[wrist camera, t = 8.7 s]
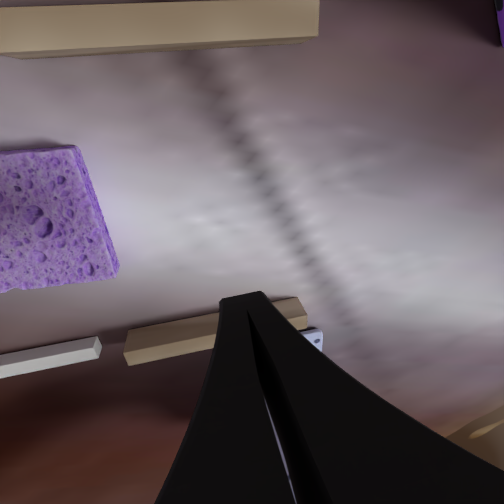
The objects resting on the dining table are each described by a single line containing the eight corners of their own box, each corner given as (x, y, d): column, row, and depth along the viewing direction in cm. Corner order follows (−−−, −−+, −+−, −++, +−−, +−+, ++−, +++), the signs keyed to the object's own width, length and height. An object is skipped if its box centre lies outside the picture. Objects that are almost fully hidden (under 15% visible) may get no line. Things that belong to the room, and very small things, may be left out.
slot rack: (297, 309, 21) (307, 328, 20) (133, 342, 20) (128, 365, 18) (301, 10, 13) (319, -3, 11) (7, 22, 11) (-26, 8, 9)
